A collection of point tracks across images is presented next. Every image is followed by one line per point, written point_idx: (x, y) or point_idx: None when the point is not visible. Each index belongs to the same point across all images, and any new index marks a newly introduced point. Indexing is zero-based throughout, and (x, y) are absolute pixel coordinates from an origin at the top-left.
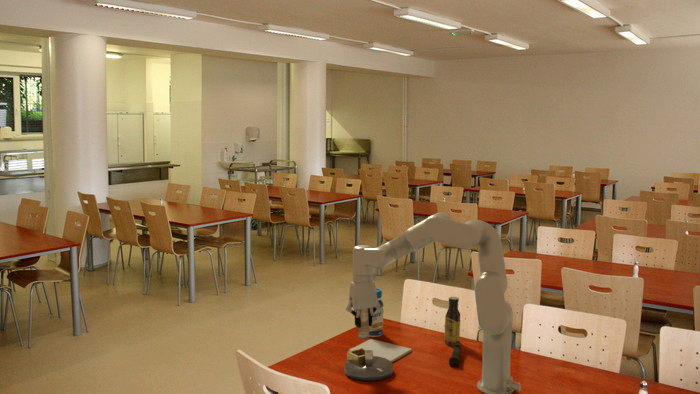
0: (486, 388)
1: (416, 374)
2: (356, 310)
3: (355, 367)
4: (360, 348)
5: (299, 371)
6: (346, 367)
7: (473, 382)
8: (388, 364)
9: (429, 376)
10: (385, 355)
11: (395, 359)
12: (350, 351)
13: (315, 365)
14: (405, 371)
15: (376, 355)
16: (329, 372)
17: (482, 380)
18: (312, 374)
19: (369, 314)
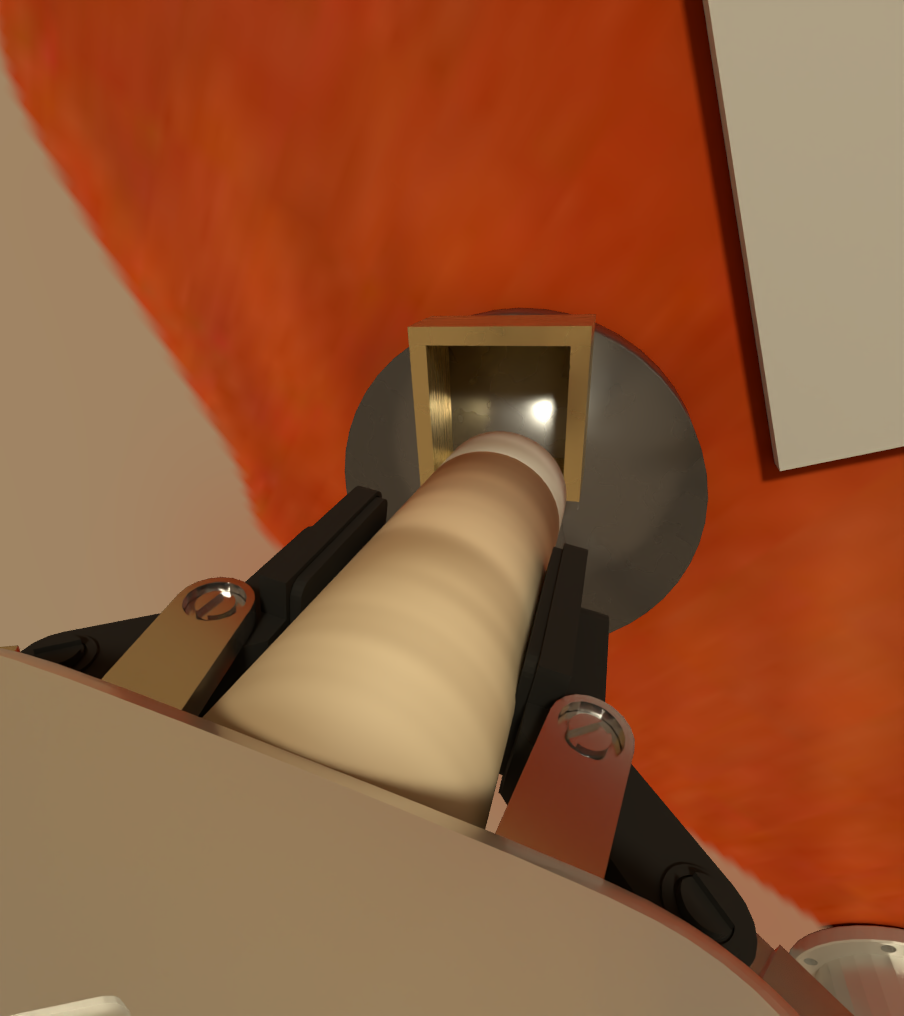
0: (816, 973)
1: (738, 684)
2: (177, 703)
3: (402, 485)
4: (566, 330)
5: (123, 188)
6: (350, 450)
7: (883, 902)
8: (628, 587)
9: (773, 742)
10: (865, 346)
11: (869, 447)
12: (435, 342)
13: (248, 135)
14: (724, 620)
15: (794, 292)
16: (295, 331)
17: (845, 991)
18: (190, 293)
19: (502, 786)
